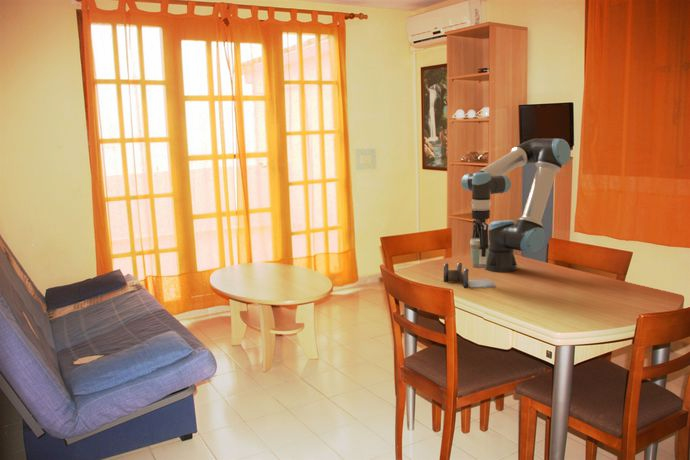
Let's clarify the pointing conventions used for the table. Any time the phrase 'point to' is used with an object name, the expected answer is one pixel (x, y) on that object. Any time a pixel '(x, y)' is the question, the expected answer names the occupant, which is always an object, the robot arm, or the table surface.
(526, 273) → the table surface
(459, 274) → the rail
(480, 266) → the coffee cup
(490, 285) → the coaster
